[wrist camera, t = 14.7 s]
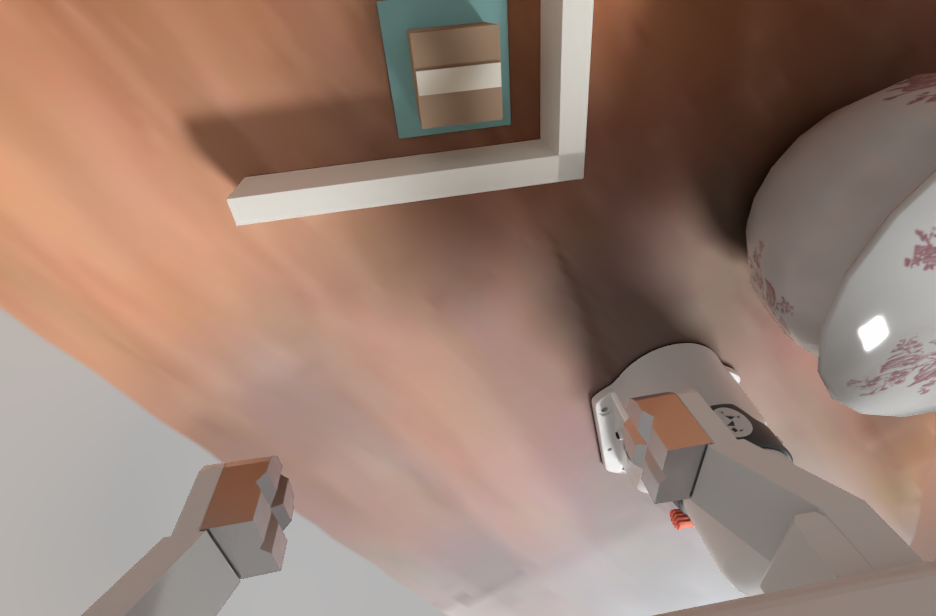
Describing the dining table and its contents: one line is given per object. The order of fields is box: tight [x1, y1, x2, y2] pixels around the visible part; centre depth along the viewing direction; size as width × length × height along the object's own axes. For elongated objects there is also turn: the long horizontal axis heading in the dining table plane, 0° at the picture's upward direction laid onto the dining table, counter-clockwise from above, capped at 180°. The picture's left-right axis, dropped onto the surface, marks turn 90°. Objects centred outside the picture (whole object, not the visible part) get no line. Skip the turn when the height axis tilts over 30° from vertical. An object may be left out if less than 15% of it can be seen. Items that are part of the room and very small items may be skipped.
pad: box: [376, 0, 511, 139], centre depth 34 cm, size 9×9×1 cm
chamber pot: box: [746, 72, 936, 417], centre depth 36 cm, size 28×28×21 cm
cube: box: [407, 22, 503, 129], centre depth 31 cm, size 6×6×6 cm
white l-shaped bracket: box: [226, 0, 594, 226], centre depth 30 cm, size 22×26×5 cm
